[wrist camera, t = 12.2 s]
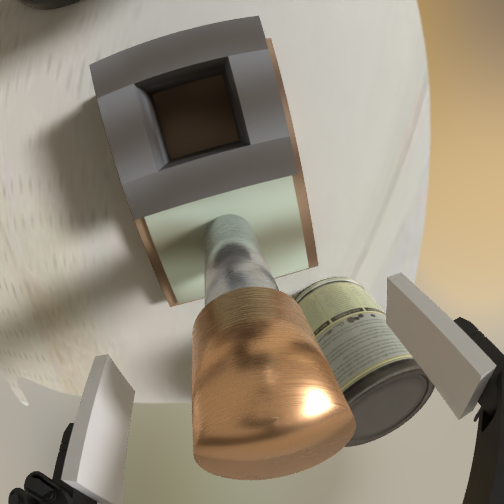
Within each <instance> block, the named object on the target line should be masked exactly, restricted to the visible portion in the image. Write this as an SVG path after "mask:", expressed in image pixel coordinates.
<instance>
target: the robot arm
mask: <svg viewBox="0 0 504 504" xmlns="http://www.w3.org/2000/svg"><path fill="white" fill-rule="evenodd" d="M18 1H20V2H22V3H24V4H25V5H27V6H29V7H32V8H35V9H53V8H58V7H62V6H65V5H69V4H71V3H74V2H76V1H79V0H18ZM386 324H387V325H388V326H389V328H390V329H391V330H392V331H393V333H394V334H395V335H396V336H397V338H398V339H399V340H400V341H401V343H402V344H403V345H404V347H405V348H406V349H407V350H408V352H409V353H410V354H411V356H412V357H413V358H414V359H415V361H416V362H417V363H418V365H419V366H420V367H421V369H422V370H423V371H424V373H425V374H426V375H427V377H428V378H429V379H430V381H431V382H432V383H433V385H434V386H435V387H436V389H437V390H438V391H439V393H440V394H441V396H442V397H443V398H444V400H445V401H446V402H447V404H448V405H449V407H450V408H451V410H452V411H453V412H454V414H455V415H456V416H457V418H458V419H461V418H462V417H464V416H465V415H467V414H468V413H470V412H471V411H473V409H474V407H475V406H476V404H477V402H478V403H479V404H480V405H481V408H480V410H479V411H478V413H477V414H476V416H475V418H474V421H476V420H477V419H478V417H479V423H478V431H477V438H476V445H475V451H474V457H473V462H472V467H471V472H470V477H469V481H468V485H467V489H466V493H465V497H464V500H463V504H504V355H503V354H502V353H501V352H500V351H499V349H498V348H497V347H496V346H495V345H493V344H492V342H490V340H488V339H487V337H484V334H482V333H481V332H480V331H478V329H477V328H476V327H475V326H474V325H473V324H472V323H471V322H469V321H467V320H465V319H463V318H461V317H459V318H457V319H455V320H454V321H453V320H452V319H451V318H450V317H449V316H448V315H447V314H446V313H445V312H444V311H442V310H441V309H440V308H439V307H438V306H437V305H436V304H435V303H434V302H433V301H432V300H431V299H430V298H429V297H428V296H426V295H425V294H424V293H423V292H422V291H421V290H420V289H419V288H418V287H417V286H416V285H414V284H413V283H412V282H411V281H410V280H409V279H408V278H407V277H405V276H404V275H403V274H402V273H398V274H396V275H393V276H390V277H387V311H386ZM134 395H135V391H134V390H133V388H132V387H131V386H130V384H129V383H128V382H127V380H126V379H125V378H124V376H123V375H122V373H121V372H120V371H119V369H118V368H117V366H116V365H115V364H114V362H113V361H112V359H111V358H110V356H109V355H108V354H107V355H102V356H96V357H95V359H94V362H93V365H92V368H91V371H90V374H89V377H88V380H87V383H86V386H85V389H84V392H83V395H82V398H81V402H80V405H79V408H78V412H77V415H76V419H75V422H74V423H70V424H69V425H68V427H67V428H66V430H65V432H64V434H63V438H62V441H61V442H62V444H61V445H60V449H59V450H60V452H59V453H58V457H57V461H56V465H55V470H54V474H53V479H52V480H51V479H50V478H48V477H47V476H46V475H44V474H43V473H41V472H39V471H35V472H32V473H30V474H29V475H28V476H27V478H26V480H25V484H24V489H25V491H24V490H23V489H21V488H15V489H13V490H12V491H11V493H10V495H9V501H8V502H9V504H97V502H99V503H100V504H122V492H123V480H124V469H125V458H126V451H127V450H126V449H127V442H128V434H129V427H130V420H131V413H132V406H133V401H134Z"/></svg>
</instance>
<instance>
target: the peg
mask: <svg viewBox="0 0 504 504" xmlns="http://www.w3.org/2000/svg"><path fill="white" fill-rule="evenodd" d="M204 281H205V307H204V308H203V309H202V311H201V312H200V313H199V315H198V317H197V319H196V321H195V323H194V326H193V332H192V422H193V423H192V424H193V453H194V459H195V461H196V463H197V464H198V465H199V466H200V467H202V468H203V469H204V470H206V471H208V472H210V473H212V474H214V475H217V476H221V477H225V478H231V479H238V480H262V479H270V478H277V477H282V476H286V475H290V474H294V473H297V472H300V471H303V470H306V469H308V468H311V467H313V466H315V465H317V464H319V463H321V462H323V461H325V460H327V459H328V458H330V457H332V456H333V455H334V454H336V453H337V452H338V451H340V450H341V449H342V448H343V447H344V446H345V445H346V444H347V443H348V442H349V441H350V439H351V438H352V436H353V434H354V432H355V429H356V420H355V418H354V416H353V414H352V411H351V409H350V407H349V405H348V403H347V401H346V399H345V397H344V395H343V393H342V390H341V388H340V386H339V384H338V382H337V380H336V378H335V376H334V374H333V372H332V370H331V368H330V366H329V363H328V361H327V359H326V357H325V355H324V353H323V351H322V349H321V347H320V345H319V343H318V341H317V339H316V337H315V335H314V333H313V331H312V329H311V327H310V325H309V323H308V321H307V319H306V317H305V315H304V313H303V311H302V309H301V307H300V306H299V304H298V303H297V302H296V301H295V300H294V299H293V298H291V297H290V296H289V295H287V294H285V293H283V292H281V291H279V289H278V286H277V284H276V282H275V279H274V277H273V275H272V273H271V270H270V268H269V266H268V263H267V261H266V259H265V256H264V254H263V252H262V250H261V247H260V245H259V243H258V240H257V238H256V236H255V234H254V231H253V229H252V227H251V225H250V224H249V222H248V221H247V220H245V219H244V218H242V217H240V216H238V215H234V214H226V215H222V216H219V217H217V218H215V219H214V220H213V221H212V222H211V223H210V224H209V225H208V227H207V229H206V231H205V235H204Z"/></svg>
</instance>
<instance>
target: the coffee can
mask: <svg viewBox="0 0 504 504" xmlns="http://www.w3.org/2000/svg"><path fill="white" fill-rule="evenodd" d="M295 301H296V302H297V303H298V304H299V306H300V307H301V309H302V311H303V313H304V315H305V317H306V319H307V321H308V323H309V325H310V327H311V329H312V331H313V333H314V335H315V337H316V339H317V341H318V343H319V345H320V347H321V349H322V351H323V353H324V355H325V357H326V359H327V361H328V363H329V366H330V368H331V370H332V372H333V374H334V376H335V378H336V380H337V382H338V384H339V386H340V388H341V390H342V393H343V395H344V397H345V399H346V401H347V403H348V405H349V407H350V409H351V411H352V414H353V416H354V418H355V420H356V429H355V432H354V434H353V436H352V438H351V439H350V441H349V442H348V443H347V444H346V445H345V446H344V447H350V446H356V445H361V444H365V443H368V442H371V441H373V440H376V439H378V438H381V437H383V436H385V435H386V434H388V433H390V432H392V431H394V430H395V429H397V428H399V427H400V426H401V425H403V424H404V423H405V422H407V421H408V420H409V419H411V418H412V416H414V415H415V414H416V413H417V412H418V411H419V410H420V409H421V408H422V407H423V405H424V404H425V403H426V401H427V400H428V399H429V397H430V396H431V394H432V392H433V390H434V387H435V386H434V385H433V383H432V382H431V381H430V379H429V378H428V377H427V375H426V374H425V373H424V371H423V370H422V369H421V367H420V366H419V365H418V363H417V362H416V361H415V359H414V358H413V357H412V356H411V354H410V353H409V352H408V350H407V349H406V348H405V347H404V345H403V344H402V343H401V341H400V340H399V339H398V338H397V336H396V335H395V334H394V333H393V331H392V330H391V329H390V328H389V326H388V325H387V324H386V314H385V313H384V312H383V310H382V309H381V308H380V307H379V306H378V305H377V304H376V302H375V301H374V300H373V299H372V298H371V297H370V296H369V294H368V293H367V292H366V291H365V289H364V288H363V286H362V285H360V284H359V283H358V282H356V281H354V280H352V279H349V278H342V277H334V278H329V279H325V280H322V281H319V282H317V283H315V284H313V285H311V286H310V287H308V288H307V289H306V290H304V291H303V292H302V293H301V294H299V296H298V297H297V298H296V299H295Z"/></svg>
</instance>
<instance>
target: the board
mask: <svg viewBox="0 0 504 504" xmlns="http://www.w3.org/2000/svg"><path fill="white" fill-rule="evenodd" d="M89 66H90V70H91V75H92V80H93V84H94V89H95V93H96V97H97V101H98V105H99V109H100V113H101V117H102V121H103V124H104V128H105V132H106V135H107V139H108V142H109V146H110V149H111V152H112V156H113V159H114V162H115V165H116V168H117V172H118V175H119V178H120V181H121V184H122V187H123V190H124V193H125V196H126V199H127V201H128V204H129V207H130V210H131V213H132V215H133V218H134V221H135V223H136V226H137V229H138V231H139V234H140V237H141V239H142V242H143V244H144V247H145V249H146V252H147V254H148V257H149V259H150V262H151V264H152V267H153V269H154V271H155V274H156V276H157V278H158V281H159V283H160V285H161V288H162V290H163V292H164V294H165V297H166V299H167V301H168V303H169V306H170V307H172V306H176V305H180V304H184V303H187V302H191V301H195V300H199V299H203V298H205V281H204V235H205V231H206V229H207V227H208V225H209V224H210V223H211V222H212V221H213V220H214V219H215V218H217V217H219V216H222V215H226V214H234V215H238V216H240V217H242V218H244V219H245V220H247V221H248V222H249V224H250V225H251V227H252V229H253V231H254V234H255V236H256V238H257V240H258V243H259V245H260V247H261V250H262V252H263V254H264V256H265V259H266V261H267V263H268V266H269V268H270V270H271V273H272V275H273V277H274V279H275V278H278V277H281V276H285V275H288V274H292V273H295V272H299V271H302V270H305V269H309V268H312V267H315V266H318V260H317V253H316V247H315V240H314V234H313V228H312V222H311V216H310V210H309V204H308V199H307V193H306V188H305V183H304V177H303V172H302V167H301V162H300V157H299V152H298V147H297V143H296V138H295V133H294V129H293V124H292V120H291V115H290V111H289V107H288V103H287V98H286V94H285V90H284V86H283V82H282V78H281V74H280V70H279V66H278V63H277V59H276V55H275V52H274V48H273V44H272V41H271V38H269V39H265V35H264V32H263V28H262V25H261V22H260V18H259V16H253V17H247V18H240V19H234V20H229V21H223V22H218V23H213V24H209V25H204V26H200V27H196V28H192V29H188V30H184V31H181V32H177V33H173V34H170V35H167V36H163V37H160V38H157V39H154V40H151V41H148V42H145V43H142V44H139V45H137V46H134V47H131V48H128V49H126V50H123V51H121V52H118V53H116V54H113V55H111V56H109V57H106V58H104V59H102V60H99V61H97V62H95V63H93V64H91V65H89Z"/></svg>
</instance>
